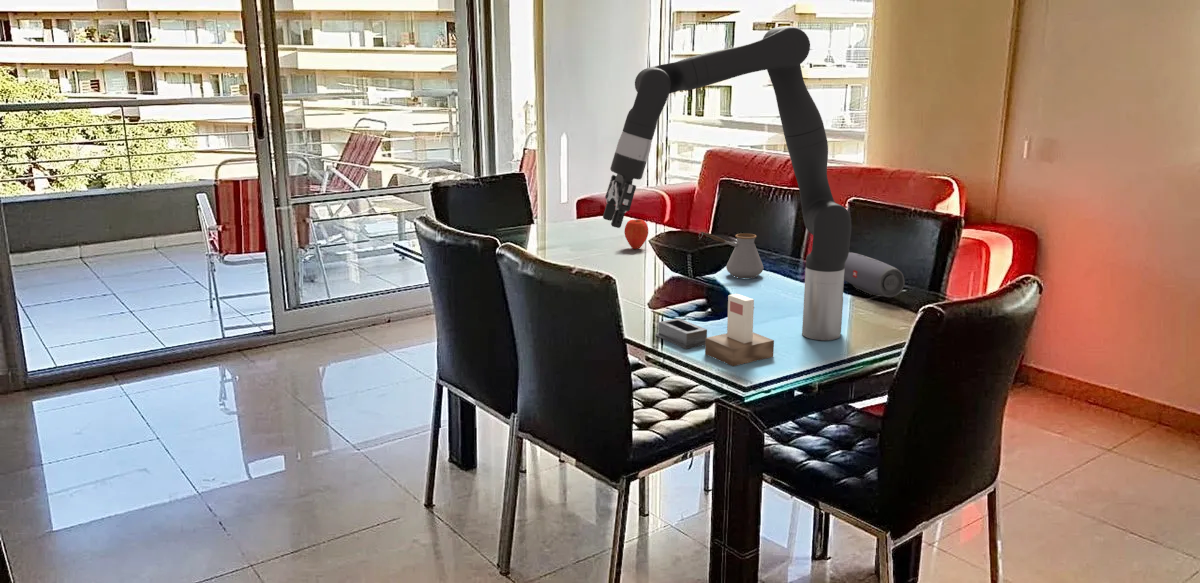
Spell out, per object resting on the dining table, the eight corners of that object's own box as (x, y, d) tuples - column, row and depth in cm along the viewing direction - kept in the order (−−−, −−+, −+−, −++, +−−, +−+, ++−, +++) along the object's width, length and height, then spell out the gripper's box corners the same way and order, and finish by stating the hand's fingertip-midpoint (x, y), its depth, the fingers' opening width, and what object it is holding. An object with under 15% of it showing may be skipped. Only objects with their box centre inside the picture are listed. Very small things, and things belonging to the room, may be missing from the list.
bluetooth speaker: (831, 284, 278) (833, 251, 275) (858, 281, 280) (861, 249, 278) (876, 303, 257) (878, 268, 254) (905, 300, 260) (907, 265, 257)
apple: (637, 252, 320) (637, 222, 318) (619, 249, 326) (618, 219, 323) (653, 248, 327) (653, 218, 324) (634, 245, 332) (635, 215, 329)
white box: (735, 334, 217) (736, 293, 214) (752, 341, 212) (754, 299, 209) (726, 336, 215) (728, 295, 213) (743, 343, 210) (745, 301, 208)
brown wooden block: (744, 345, 222) (745, 329, 221) (773, 356, 213) (774, 340, 212) (705, 354, 216) (705, 337, 215) (732, 366, 207) (733, 349, 206)
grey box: (679, 331, 233) (679, 317, 232) (709, 344, 223) (710, 329, 222) (655, 335, 229) (655, 321, 228) (685, 349, 219) (685, 334, 218)
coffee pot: (752, 270, 295) (754, 224, 291) (769, 278, 284) (771, 230, 280) (690, 275, 288) (691, 228, 284) (705, 284, 278) (707, 235, 274)
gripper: (655, 164, 205) (633, 233, 208) (638, 155, 218) (619, 221, 221) (623, 155, 203) (602, 225, 206) (609, 147, 216) (589, 213, 219)
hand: (611, 223), depth 214 cm, fingers open, 8 cm apart
